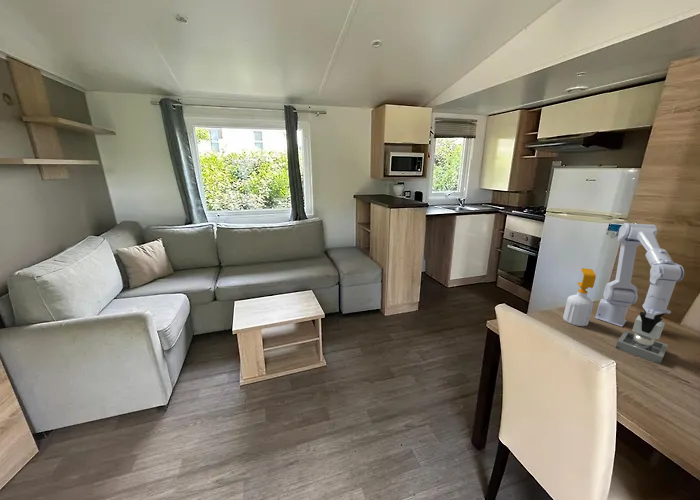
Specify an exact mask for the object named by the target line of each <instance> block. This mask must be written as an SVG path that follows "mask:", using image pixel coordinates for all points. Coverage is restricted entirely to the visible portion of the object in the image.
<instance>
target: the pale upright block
mask: <svg viewBox="0 0 700 500" xmlns="http://www.w3.org/2000/svg"><path fill="white" fill-rule="evenodd" d="M664 327H665V322H663V321H660V322H659V323H657V324H656V325H655V326H654V328H653V330H652V331H651V332H650V333H646V332H643V331H642V320H641V317H640V314H639V315H637V317H636V318H635V321H634V324H633V326H632V330H631V332H632V333H635V332H636V333H639V334H642V335H645V336H648V337H651V338H655V340H657V341H658V340H659V339H660V338H661V335H662V332H663V330H664Z"/></svg>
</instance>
